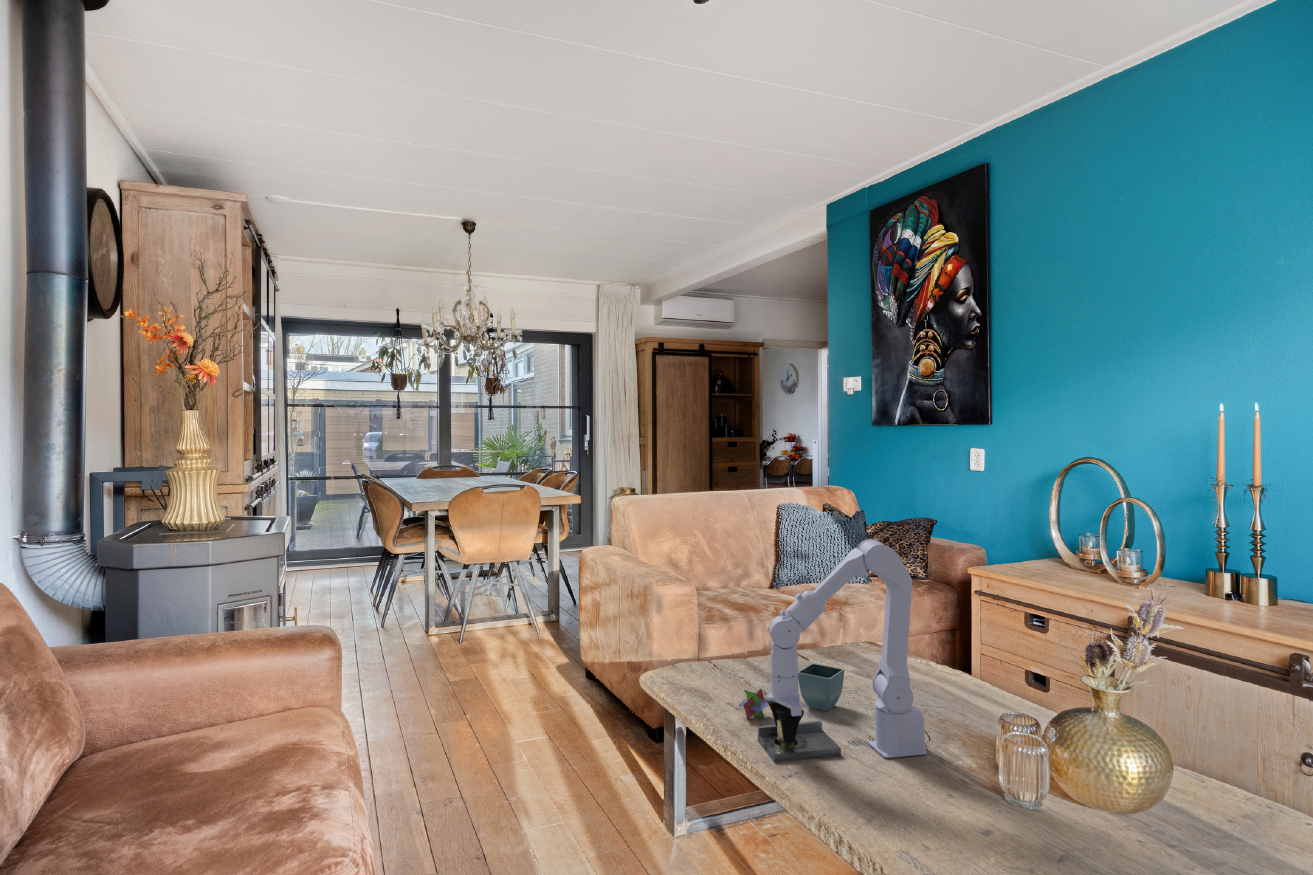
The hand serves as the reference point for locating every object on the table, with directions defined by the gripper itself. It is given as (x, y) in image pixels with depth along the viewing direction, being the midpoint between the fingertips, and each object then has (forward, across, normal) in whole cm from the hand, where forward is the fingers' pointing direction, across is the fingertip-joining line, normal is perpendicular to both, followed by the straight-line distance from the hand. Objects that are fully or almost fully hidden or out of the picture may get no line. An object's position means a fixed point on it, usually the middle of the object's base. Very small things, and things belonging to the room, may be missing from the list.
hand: (785, 737), depth 158 cm
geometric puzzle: (+3, -19, -1) cm, 19 cm away
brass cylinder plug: (+2, 0, 0) cm, 2 cm away
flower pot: (+3, -22, +17) cm, 28 cm away
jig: (+2, 0, +3) cm, 4 cm away
